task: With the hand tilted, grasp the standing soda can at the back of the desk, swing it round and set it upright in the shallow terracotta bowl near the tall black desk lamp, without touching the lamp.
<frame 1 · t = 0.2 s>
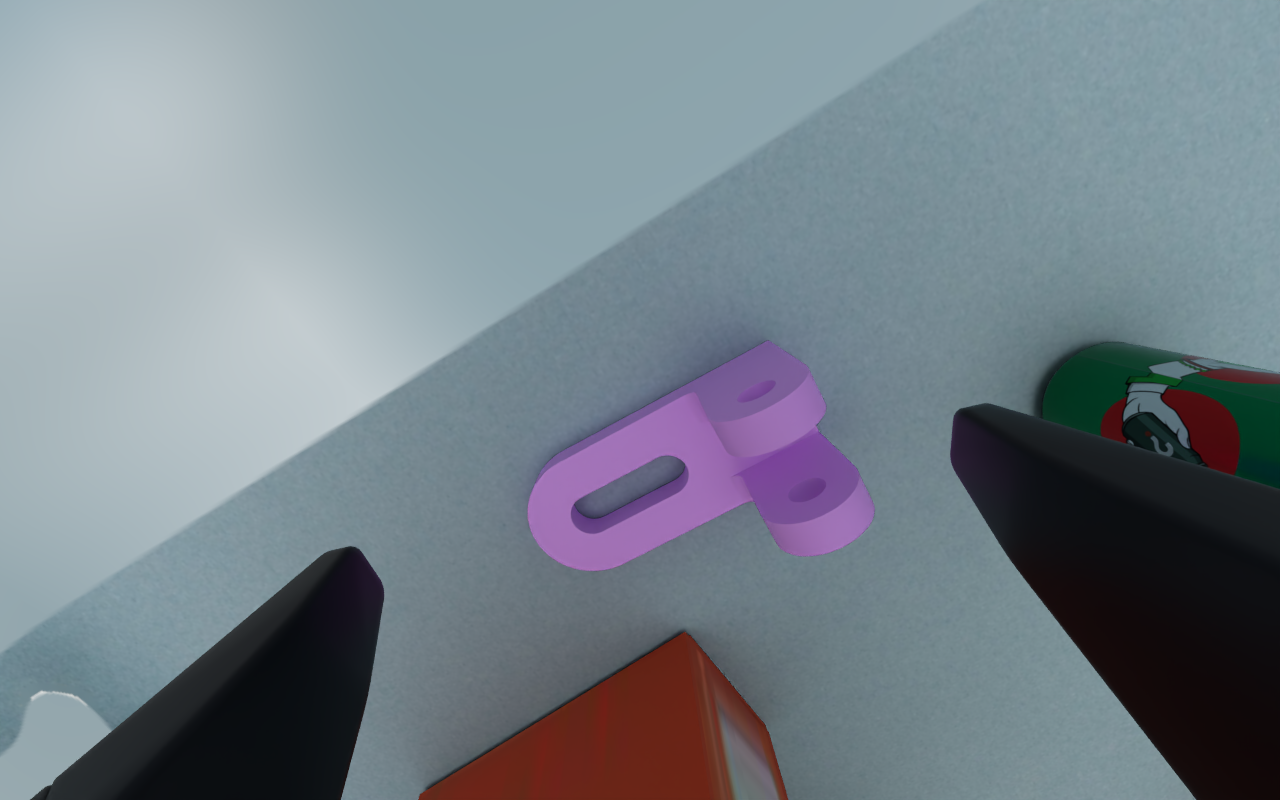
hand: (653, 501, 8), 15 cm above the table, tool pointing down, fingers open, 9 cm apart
bracket: (664, 461, 25), on the table
soda can: (1086, 394, 24), on the table
file binder: (594, 757, 29), on the table
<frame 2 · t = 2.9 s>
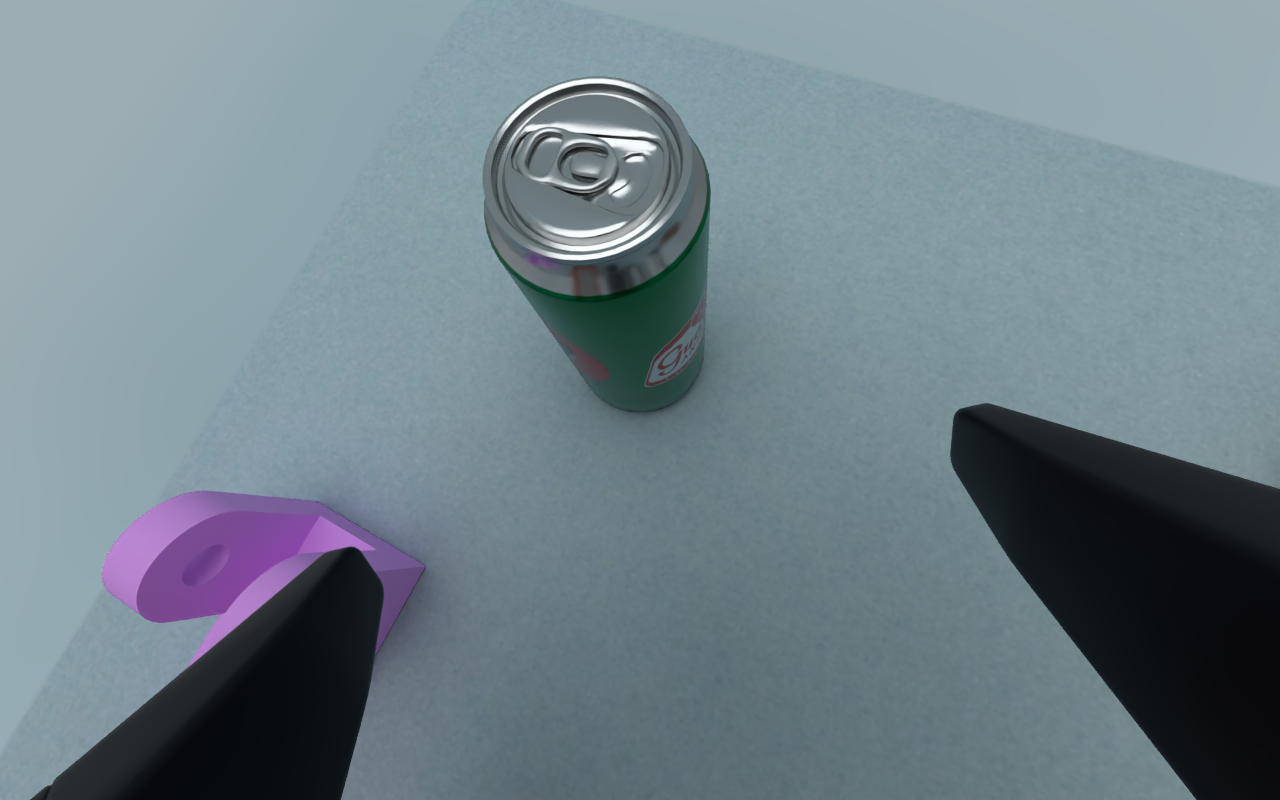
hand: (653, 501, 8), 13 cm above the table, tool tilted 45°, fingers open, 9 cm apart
bracket: (281, 687, 21), on the table
soda can: (642, 357, 23), on the table
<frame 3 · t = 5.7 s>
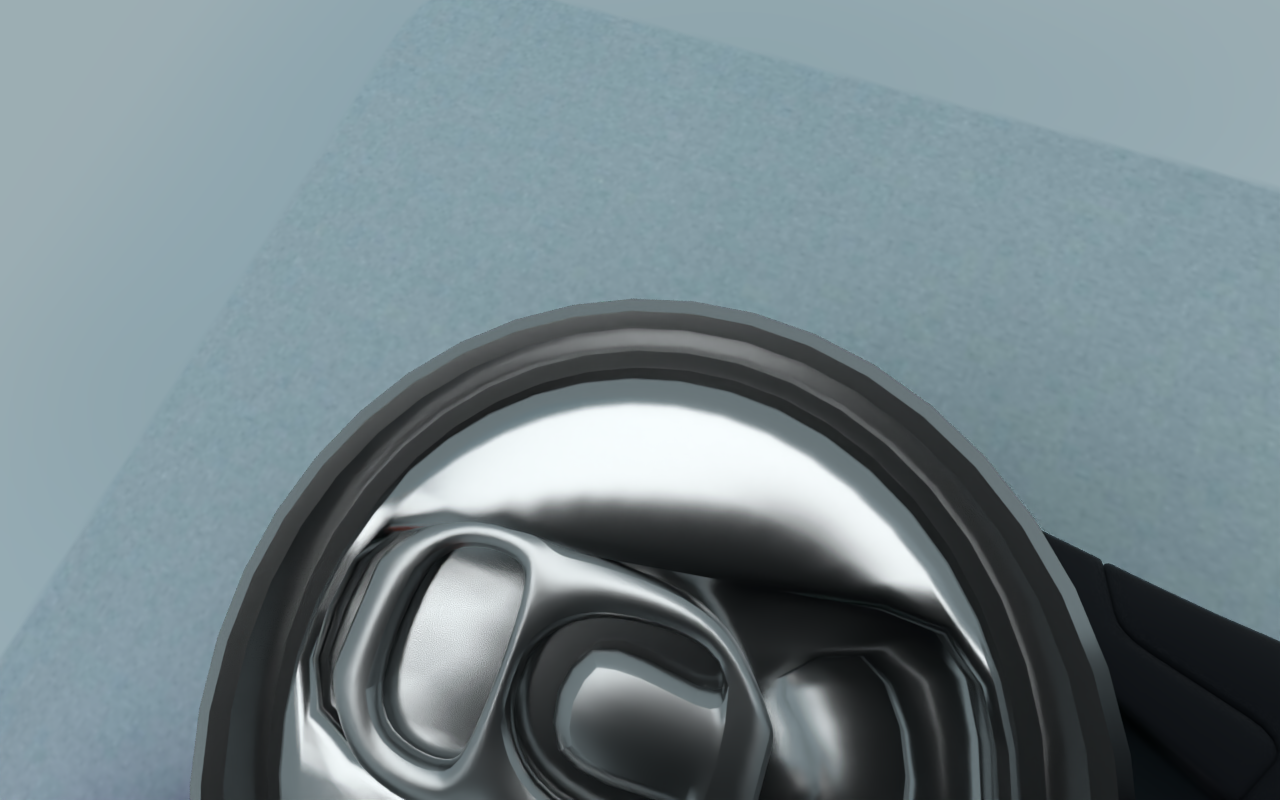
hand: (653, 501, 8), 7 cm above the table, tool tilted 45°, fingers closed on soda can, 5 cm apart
soda can: (683, 569, 14), on the table, touching gripper
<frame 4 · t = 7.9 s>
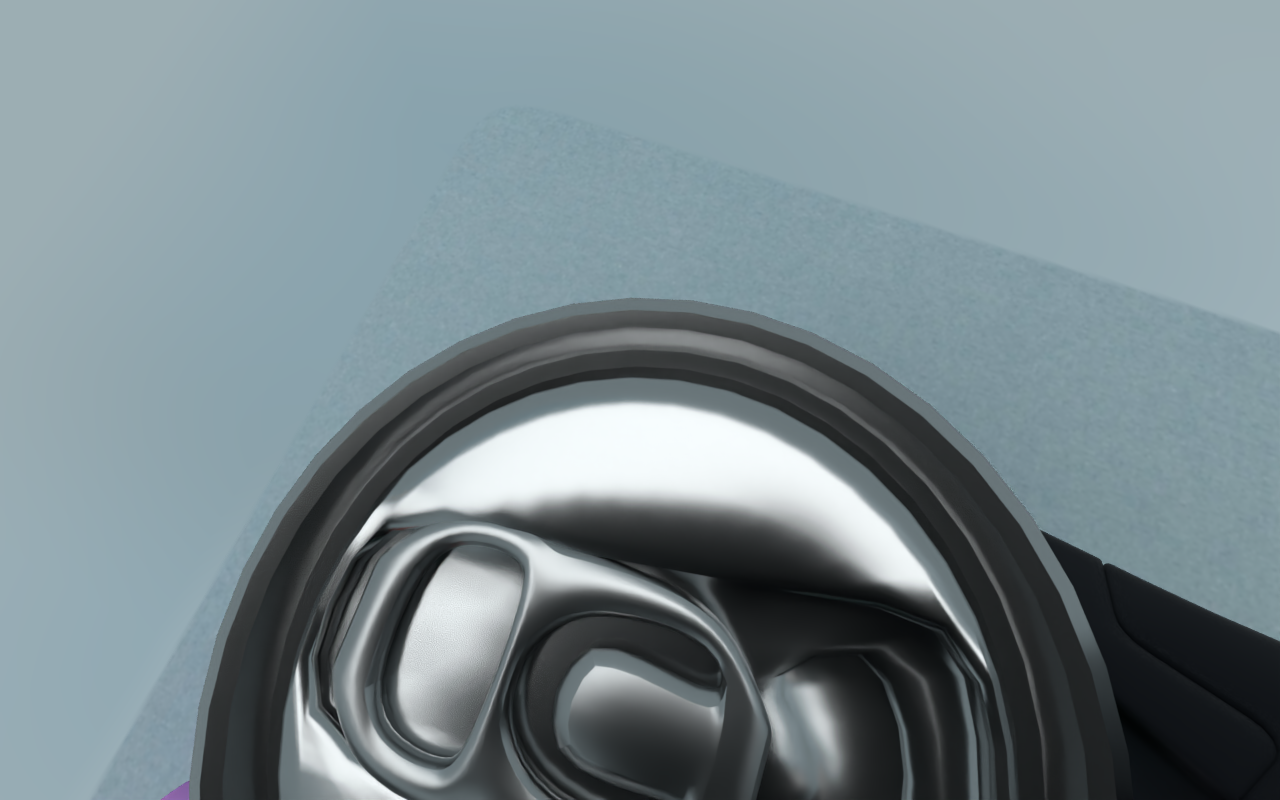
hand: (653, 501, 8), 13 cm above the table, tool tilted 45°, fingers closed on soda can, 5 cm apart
soda can: (683, 569, 14), point 6 cm above the table, touching gripper
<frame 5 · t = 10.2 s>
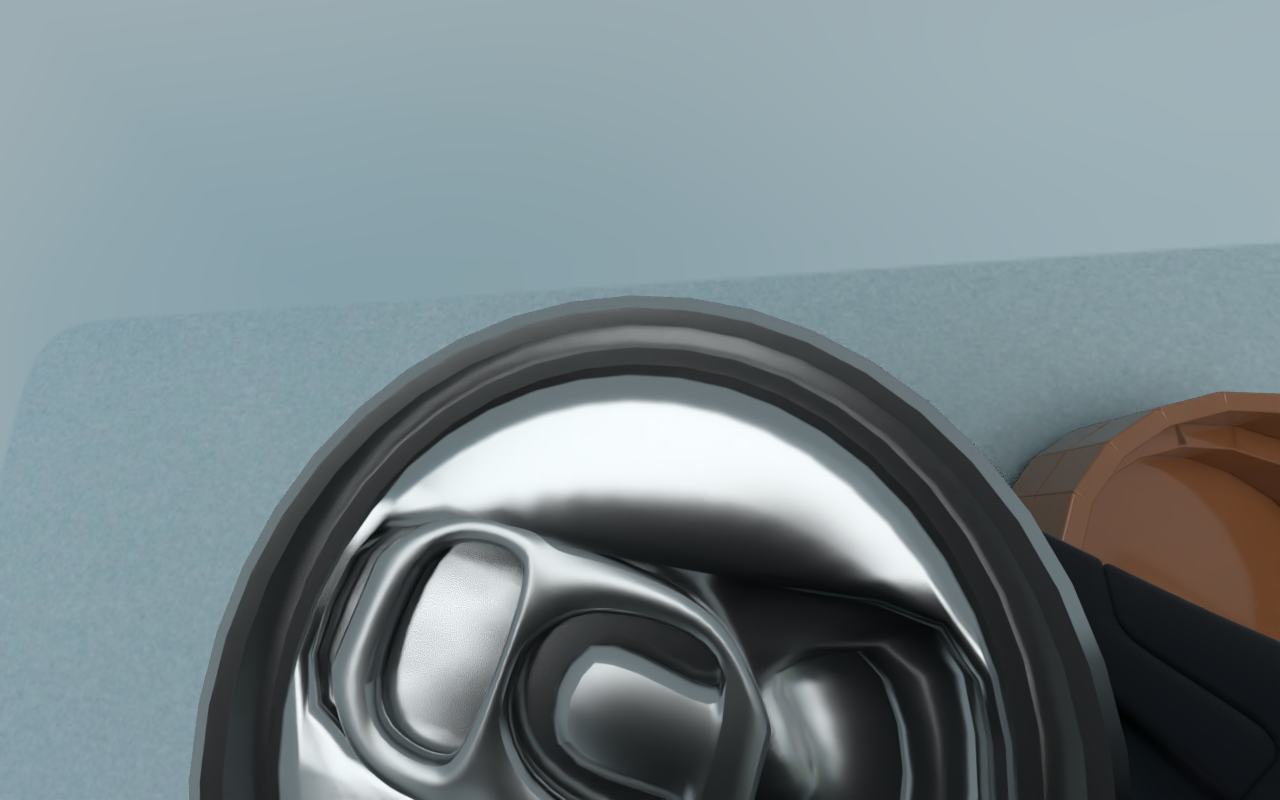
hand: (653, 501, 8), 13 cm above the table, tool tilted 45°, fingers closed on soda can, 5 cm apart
soda can: (683, 568, 14), point 6 cm above the table, touching gripper
bowl: (1165, 589, 18), on the table
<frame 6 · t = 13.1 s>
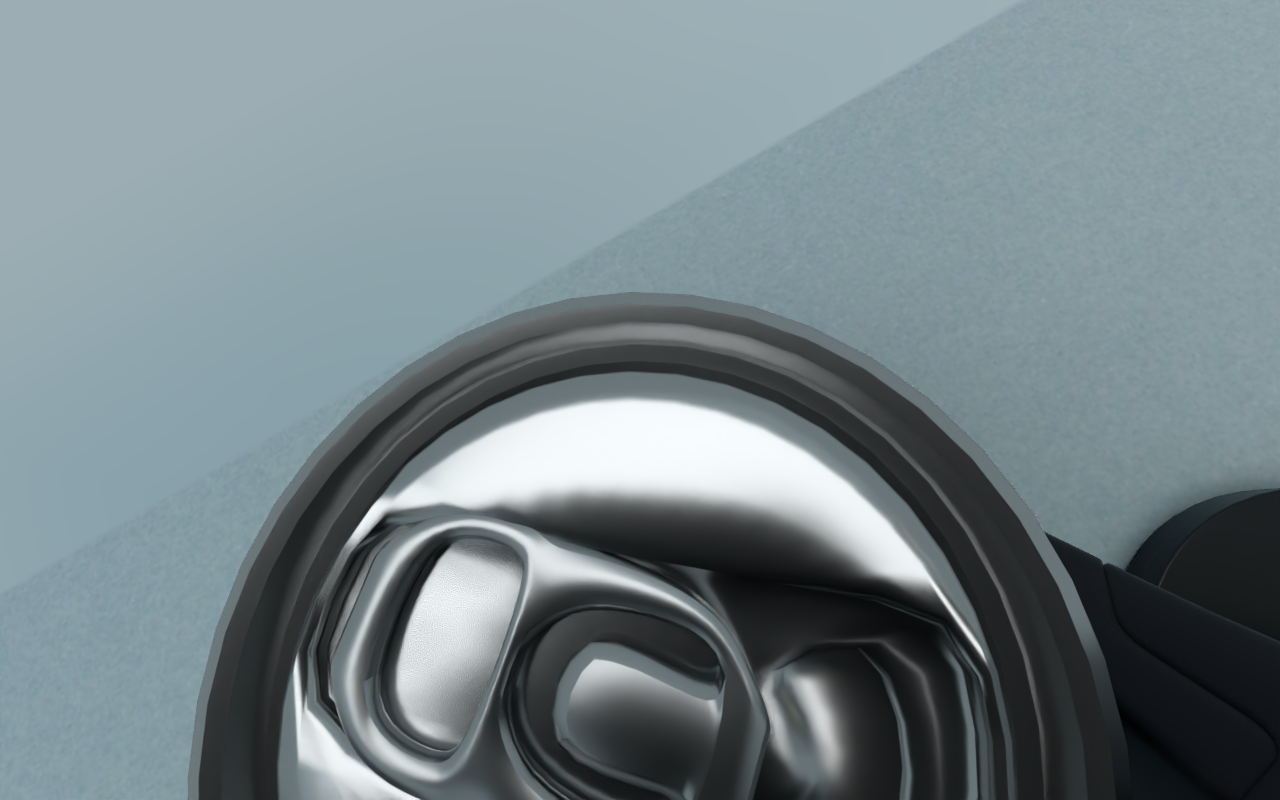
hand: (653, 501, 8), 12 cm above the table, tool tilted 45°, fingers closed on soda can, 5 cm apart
soda can: (683, 567, 14), point 6 cm above the table, touching gripper
when the fingers open (7 cm above the table, at t = 15.0 s): soda can stays where it is, resting on bowl.
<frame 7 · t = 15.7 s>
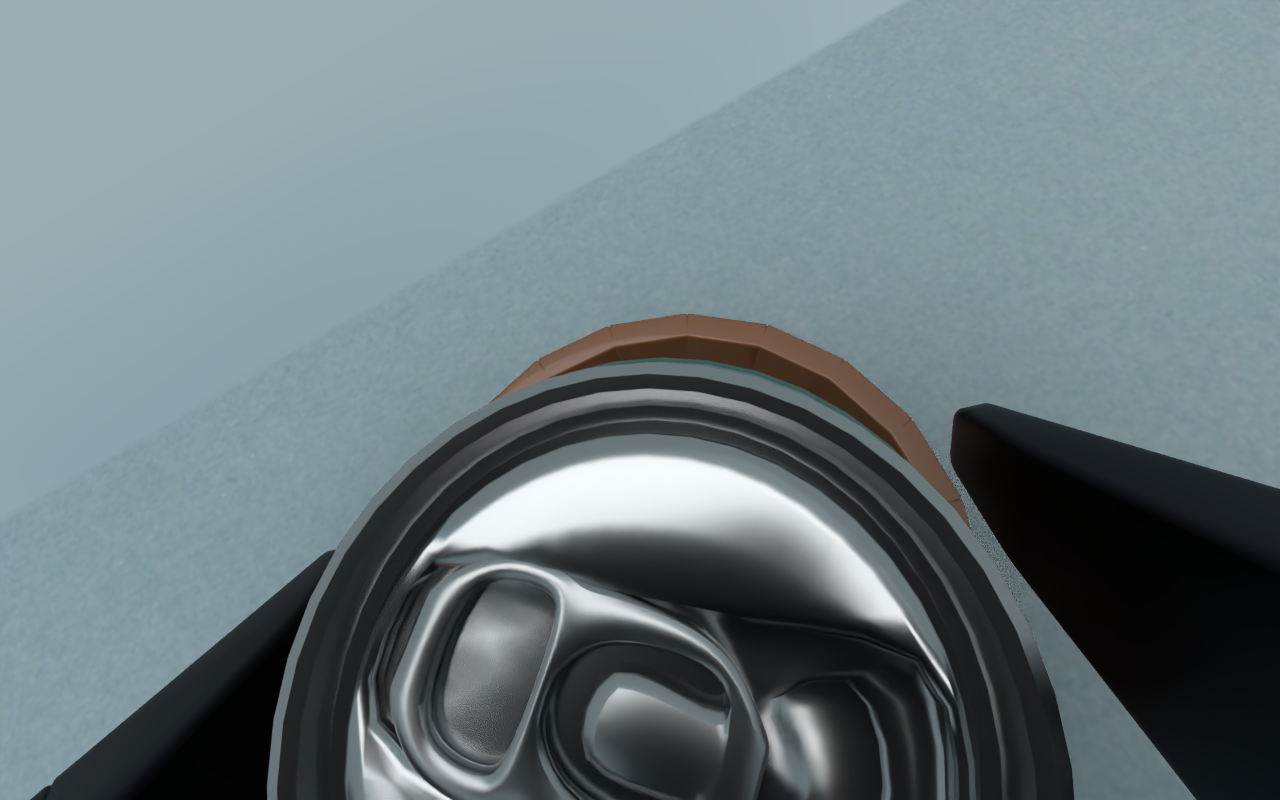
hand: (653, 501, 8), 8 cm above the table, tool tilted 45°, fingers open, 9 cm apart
soda can: (686, 576, 15), resting on bowl
bowl: (686, 568, 15), on the table
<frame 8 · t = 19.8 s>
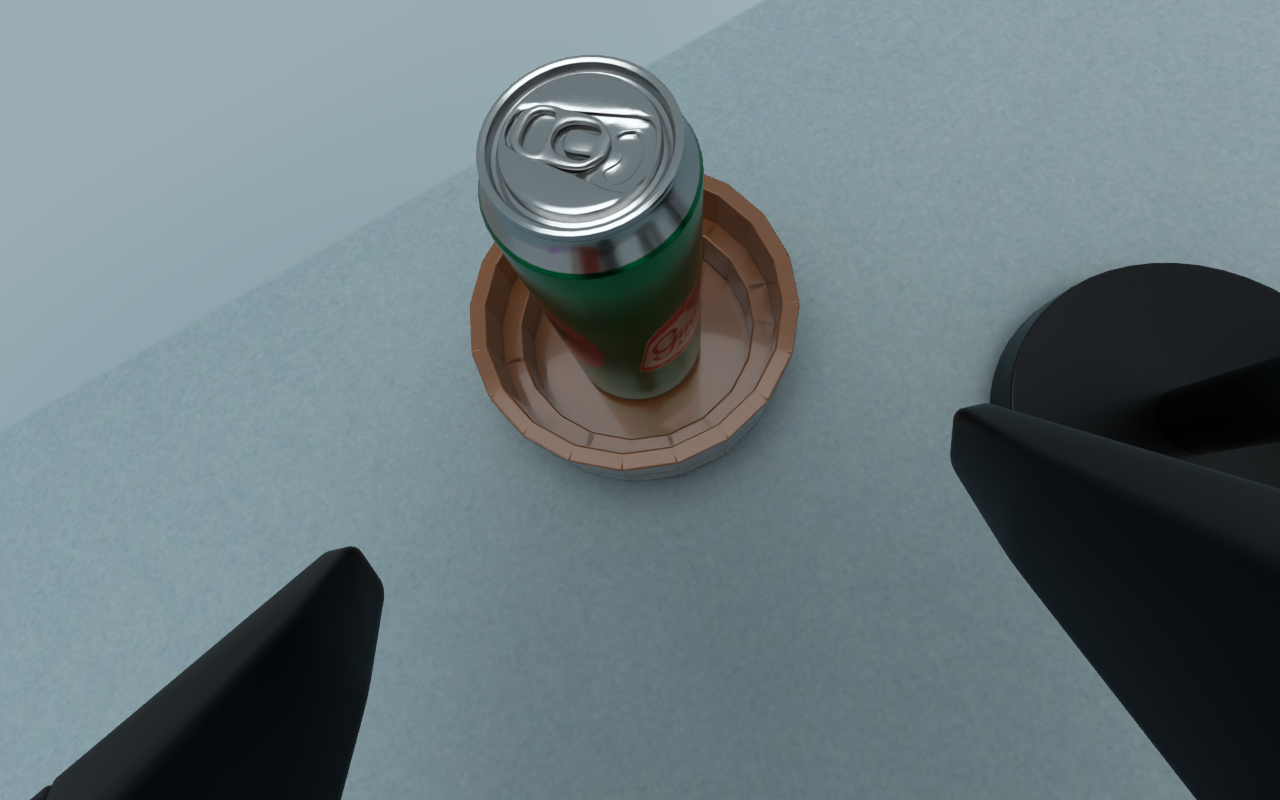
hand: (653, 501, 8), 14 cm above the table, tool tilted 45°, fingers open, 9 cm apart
desk lamp: (1160, 427, 20), on the table
soda can: (639, 345, 23), resting on bowl
bowl: (640, 344, 23), on the table
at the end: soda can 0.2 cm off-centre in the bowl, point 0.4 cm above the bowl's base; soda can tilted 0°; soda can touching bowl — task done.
